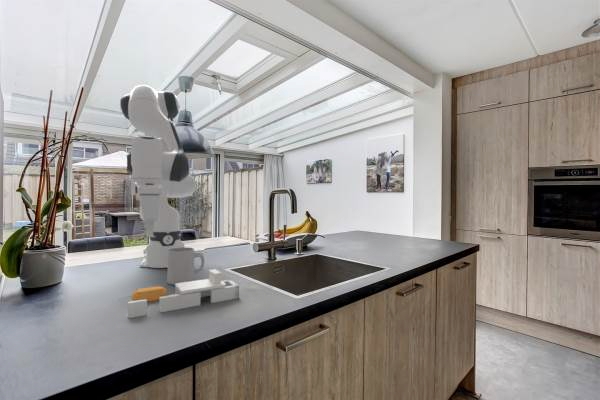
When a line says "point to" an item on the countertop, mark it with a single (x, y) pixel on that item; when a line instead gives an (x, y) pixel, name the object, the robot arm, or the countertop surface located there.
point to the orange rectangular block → (149, 293)
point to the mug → (182, 265)
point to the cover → (202, 283)
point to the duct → (185, 299)
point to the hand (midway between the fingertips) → (148, 235)
